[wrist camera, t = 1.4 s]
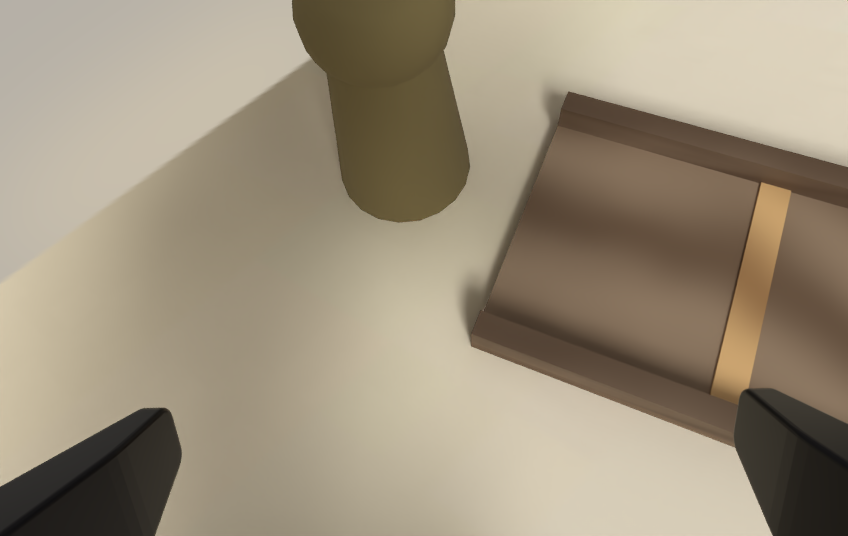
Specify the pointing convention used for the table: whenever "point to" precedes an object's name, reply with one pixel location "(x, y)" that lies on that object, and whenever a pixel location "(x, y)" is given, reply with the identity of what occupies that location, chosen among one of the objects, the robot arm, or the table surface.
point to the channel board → (676, 270)
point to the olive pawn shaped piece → (390, 101)
